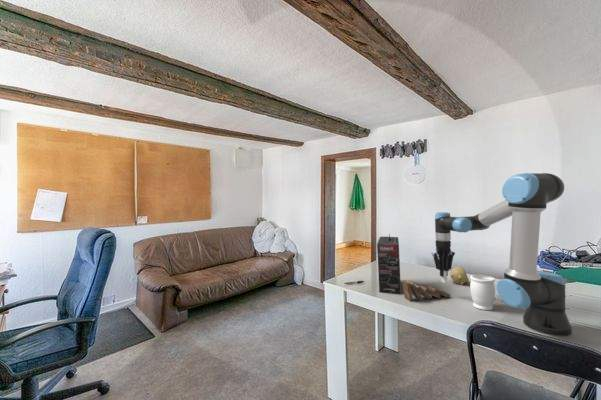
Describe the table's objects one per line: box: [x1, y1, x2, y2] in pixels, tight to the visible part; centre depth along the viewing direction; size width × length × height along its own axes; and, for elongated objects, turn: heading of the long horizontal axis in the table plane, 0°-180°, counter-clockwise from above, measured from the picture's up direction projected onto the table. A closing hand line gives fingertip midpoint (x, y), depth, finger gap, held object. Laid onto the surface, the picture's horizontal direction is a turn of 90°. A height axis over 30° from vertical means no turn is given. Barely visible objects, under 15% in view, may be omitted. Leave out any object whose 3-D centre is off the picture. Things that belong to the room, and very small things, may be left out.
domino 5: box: [427, 286, 451, 298], centre depth 150 cm, size 2×5×10 cm
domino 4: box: [419, 285, 442, 299], centre depth 149 cm, size 2×5×10 cm
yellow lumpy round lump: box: [449, 266, 470, 286], centre depth 171 cm, size 10×12×11 cm
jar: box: [469, 274, 496, 311], centre depth 135 cm, size 11×10×15 cm
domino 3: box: [414, 283, 432, 300], centre depth 148 cm, size 2×5×10 cm
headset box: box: [376, 233, 401, 295], centre depth 168 cm, size 24×13×33 cm, turn 160°
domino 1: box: [401, 279, 414, 302], centre depth 147 cm, size 2×5×10 cm, turn 9°
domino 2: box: [407, 280, 423, 301], centre depth 148 cm, size 2×5×10 cm
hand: (443, 282), depth 150 cm, fingers closed
